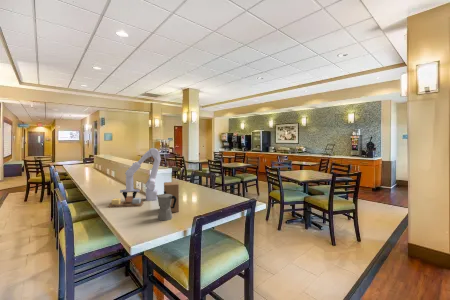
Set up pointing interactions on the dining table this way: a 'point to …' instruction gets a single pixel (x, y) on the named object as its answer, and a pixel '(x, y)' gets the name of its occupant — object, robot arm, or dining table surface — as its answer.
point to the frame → (126, 204)
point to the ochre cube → (116, 201)
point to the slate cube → (136, 200)
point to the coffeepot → (165, 206)
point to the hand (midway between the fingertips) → (130, 201)
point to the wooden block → (173, 194)
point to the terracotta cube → (129, 198)
